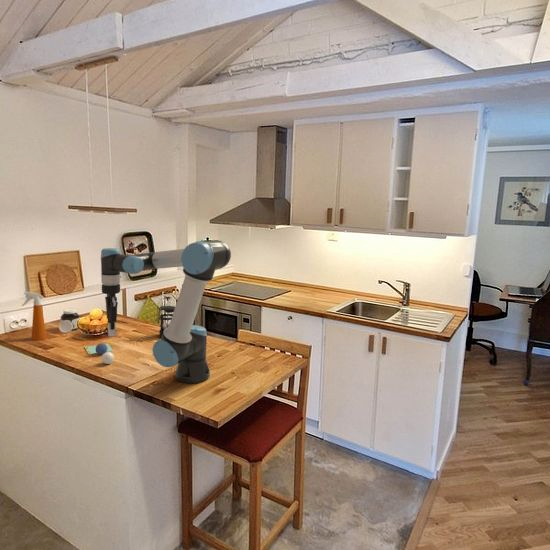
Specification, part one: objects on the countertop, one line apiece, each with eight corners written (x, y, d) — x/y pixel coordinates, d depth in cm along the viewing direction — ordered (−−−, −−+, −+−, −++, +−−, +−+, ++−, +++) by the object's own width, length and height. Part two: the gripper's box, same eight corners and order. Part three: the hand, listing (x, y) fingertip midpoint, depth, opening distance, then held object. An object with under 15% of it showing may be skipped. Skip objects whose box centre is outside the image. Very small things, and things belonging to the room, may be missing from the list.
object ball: (108, 355, 204) (108, 344, 203) (96, 356, 201) (96, 346, 200) (106, 351, 208) (106, 341, 208) (94, 353, 205) (94, 342, 204)
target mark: (113, 351, 210) (113, 350, 210) (87, 354, 203) (87, 354, 203) (108, 344, 219) (108, 343, 219) (83, 347, 213) (83, 347, 213)
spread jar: (78, 326, 247) (77, 307, 246) (83, 331, 239) (82, 311, 237) (55, 329, 240) (55, 310, 238) (60, 334, 231) (59, 314, 229)
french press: (165, 339, 230) (165, 299, 227) (154, 336, 236) (154, 297, 232) (181, 335, 240) (181, 296, 236) (170, 331, 245) (170, 294, 241)
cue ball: (115, 364, 193) (115, 353, 192) (103, 366, 190) (102, 355, 189) (112, 360, 197) (112, 349, 196) (100, 362, 194) (100, 351, 193)
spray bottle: (23, 338, 222) (20, 290, 218) (45, 335, 228) (43, 289, 224) (23, 342, 216) (21, 293, 212) (47, 339, 222) (44, 291, 218)
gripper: (123, 285, 176) (124, 338, 180) (116, 280, 186) (117, 330, 190) (105, 287, 172) (106, 341, 175) (98, 281, 182) (99, 332, 186)
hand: (111, 335), depth 183 cm, fingers closed
